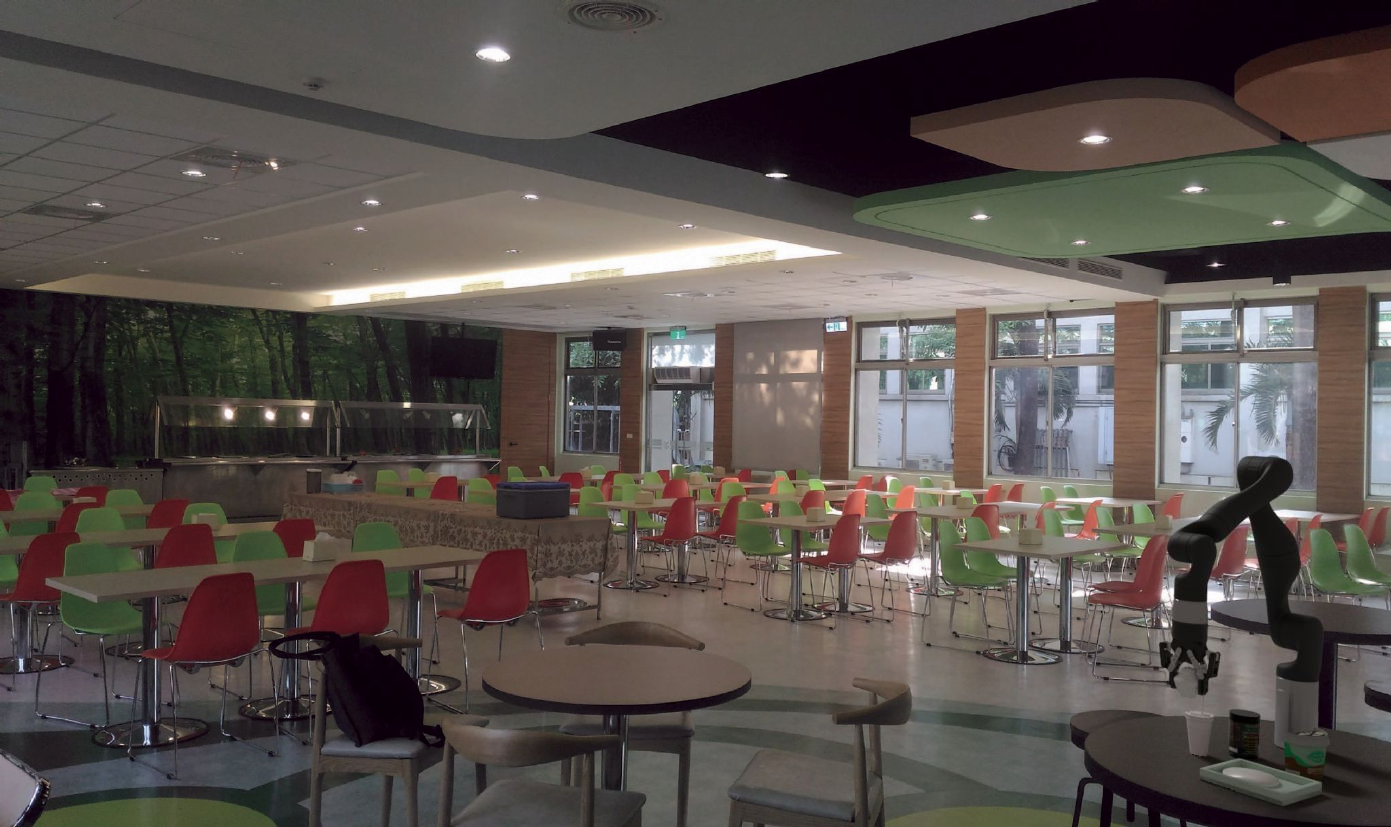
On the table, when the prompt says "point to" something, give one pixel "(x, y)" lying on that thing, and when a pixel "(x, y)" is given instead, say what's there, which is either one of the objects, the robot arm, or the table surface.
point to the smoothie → (1199, 730)
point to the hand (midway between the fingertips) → (1188, 691)
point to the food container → (1306, 753)
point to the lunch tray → (1261, 781)
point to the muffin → (1187, 682)
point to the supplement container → (1244, 734)
